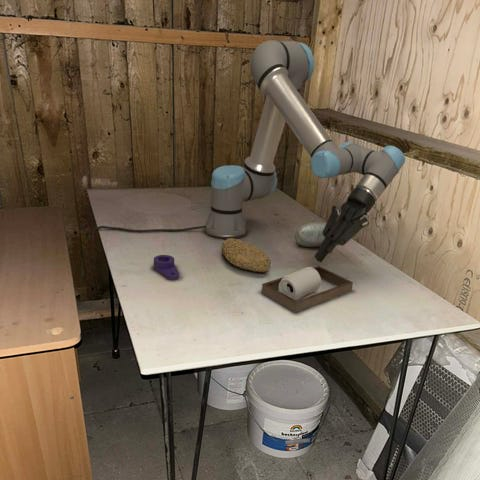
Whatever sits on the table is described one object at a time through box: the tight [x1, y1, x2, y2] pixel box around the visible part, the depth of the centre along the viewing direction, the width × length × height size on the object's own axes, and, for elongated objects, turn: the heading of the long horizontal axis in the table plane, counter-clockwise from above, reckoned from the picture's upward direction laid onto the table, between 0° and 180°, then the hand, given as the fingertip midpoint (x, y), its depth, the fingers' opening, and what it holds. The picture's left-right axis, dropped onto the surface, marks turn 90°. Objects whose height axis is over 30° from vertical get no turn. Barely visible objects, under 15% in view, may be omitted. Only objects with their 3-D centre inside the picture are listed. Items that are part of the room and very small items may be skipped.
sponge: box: [221, 238, 272, 273], centre depth 154 cm, size 13×8×20 cm
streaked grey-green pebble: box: [295, 221, 327, 248], centre depth 172 cm, size 14×10×10 cm
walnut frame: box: [261, 265, 354, 314], centre depth 141 cm, size 24×14×3 cm, turn 129°
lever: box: [153, 254, 180, 281], centre depth 146 cm, size 12×6×3 cm, turn 29°
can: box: [278, 266, 322, 301], centre depth 137 cm, size 8×8×12 cm
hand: (317, 259), depth 138 cm, fingers closed
